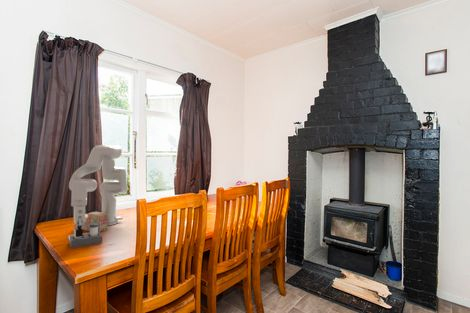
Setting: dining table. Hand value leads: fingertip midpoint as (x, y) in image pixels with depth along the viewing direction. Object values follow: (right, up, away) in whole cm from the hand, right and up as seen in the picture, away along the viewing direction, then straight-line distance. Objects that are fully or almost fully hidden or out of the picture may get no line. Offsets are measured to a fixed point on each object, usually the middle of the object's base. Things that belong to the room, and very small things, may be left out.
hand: (78, 234), depth 139 cm
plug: (0, -5, 0) cm, 5 cm away
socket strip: (+3, -7, +2) cm, 8 cm away
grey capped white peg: (+6, -6, +5) cm, 9 cm away
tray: (-7, -7, +11) cm, 15 cm away
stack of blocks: (-9, -7, +29) cm, 31 cm away
